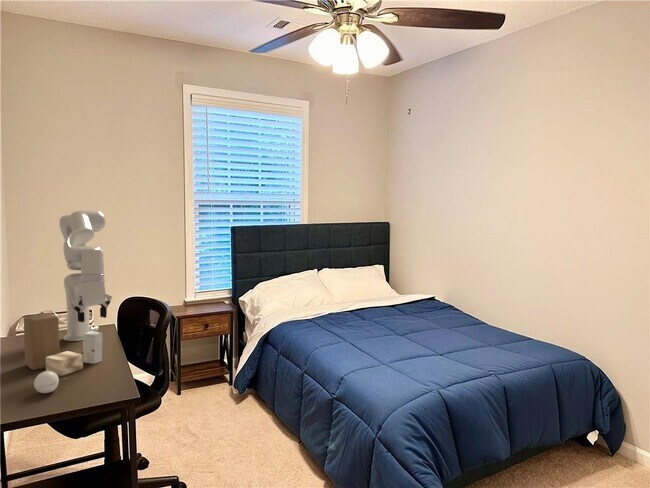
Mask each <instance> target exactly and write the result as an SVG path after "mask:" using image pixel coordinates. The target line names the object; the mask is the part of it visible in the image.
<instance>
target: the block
mask: <svg viewBox="0 0 650 488" xmlns="http://www.w3.org/2000/svg"><path fill="white" fill-rule="evenodd" d="M59 321H60V319H59V317H58V316H57V315H55V314H53V313H50V312H48V313H41V314H40V313H39V314H32V315H31V314H30V315H26V316H24V318H23V330H24V331H23V334H24V335H23V336H24V337H23V338H24V364H25V365H26V366H27V368H29V369H30V370H32V371H36V370H41V369H46V357H48V356H51V355H55V354H58V353H60V327H59V326H60V325H59Z"/></svg>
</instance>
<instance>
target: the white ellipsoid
mask: <svg viewBox="0 0 650 488" xmlns="http://www.w3.org/2000/svg"><path fill="white" fill-rule="evenodd" d="M65 379H67V377H65V378H64V380H65ZM60 380H63V378H60V379H59V375H57V374H56V373H54V372H51V371H46V370H45V371H42V372H41V373H39V374H37V376H36V378H35V379H34V382H33V386H34V389H35V390H36V391H37V393H40V394H49V393H51V392H52V393H53V391H54V390H56V389H57V387H58V386H59V383H60Z"/></svg>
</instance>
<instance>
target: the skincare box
mask: <svg viewBox="0 0 650 488" xmlns="http://www.w3.org/2000/svg"><path fill="white" fill-rule="evenodd" d="M83 341H84V351H83V350H82V354H83V363H87V364H91V365H94V364H97V363H98V364H99V363H100V362H102V361H103V332H99V331H90V332H87V333H84V340H83Z"/></svg>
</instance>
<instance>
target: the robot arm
mask: <svg viewBox="0 0 650 488" xmlns="http://www.w3.org/2000/svg"><path fill="white" fill-rule="evenodd" d="M105 226H106V217H105V215H104V214H103V213H102V211H100V210H76V211H72V213H71V214H65V215H63V216H61V217H60V219H59V229H60V231H61V235H62V237H63V239H64V242H63V256H64V259H65V262H66V267H67V269H68V270H70V271H81V272H77V273H70V274H68V275H66V276H65V277H64V278H63V286H64V291H65V299H66V331H67V332H66V333H67V334H65V335H64V336H63V340H64V341H66V342H67V341H68V342H79V341H84V333H87V332H90V331H93V332H98V331H99V326H90V307H95V306H100V308H99V314H100V315H99V316H100V318H104V319H106V318H107V315H108V314H107V313H108V312H107V308H108V307H109V305H110V304H111V302H112V301H111V300H112V299H113V296H112V295H110V294H106V286H105V282H106V281H105V263H104V251H103V249H102V248H101V247H100V246H96V245H91V246H90V245H89V246H88V245H87V243H89V242H91V241H92V240H93V238H94V237H95V233H98V232H101V231H102V230H103V229H104V228H105Z"/></svg>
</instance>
